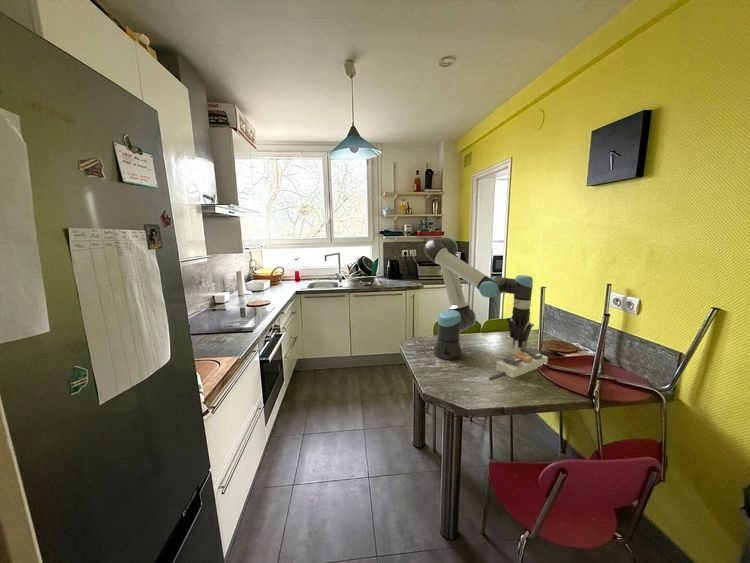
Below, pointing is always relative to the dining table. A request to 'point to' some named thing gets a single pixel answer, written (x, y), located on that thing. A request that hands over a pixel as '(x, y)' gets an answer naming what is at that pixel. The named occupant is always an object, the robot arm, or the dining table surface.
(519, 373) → the power strip
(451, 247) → the robot arm
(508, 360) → the rocker
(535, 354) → the rocker
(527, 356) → the orange flat block
